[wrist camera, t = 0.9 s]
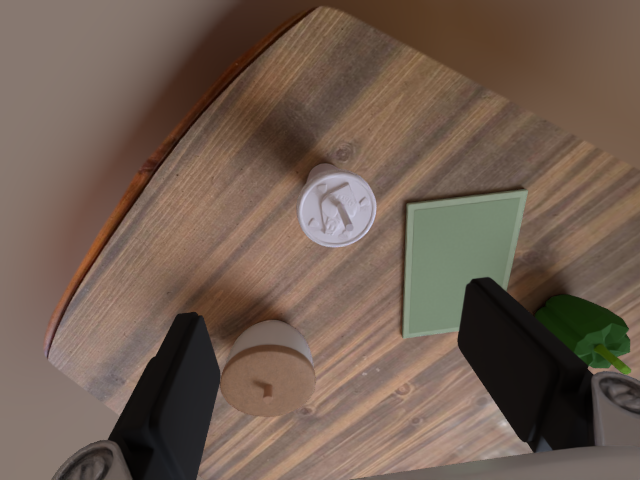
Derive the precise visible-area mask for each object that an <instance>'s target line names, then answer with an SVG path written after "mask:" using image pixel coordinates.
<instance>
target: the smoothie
mask: <svg viewBox="0 0 640 480" xmlns="http://www.w3.org/2000/svg"><path fill="white" fill-rule="evenodd" d="M296 209H297V217H298V220H299V224H300V226H301V228H302V230H303V231H304V233H305V234H306V235H307V236H308V237H309V238H310V239H311V240H313V241H314V242H316V243H318V244H320V245H323V246H327V247H342V246H347V245H350V244H352V243H354V242H356V241H357V240H359V239H360V238H362V237H363V236H364V235H365V234H366V233H367V232H368V230H369V229H370V227H371V226H372V224H373V222H374V219H375V215H376V200H375V197H374V194H373V192H372V190H371V188H370V187H369V185H368V183H367V182H366V181H365V180H364V179H363V178H362V177H361V176H359V175H357V174H355V173H353V172H351V171H348V170H343V169H339V168H337V167H335V166H334V165H331V164H328V163H323V164H319V165H317V166H315V167H314V168H313V169H312V170H311V171H310V173H309V175H308V179H307V182H306V184H305V185H304V187H303V188H302V190H301V192H300V194H299V196H298V200H297V205H296Z"/></svg>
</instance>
